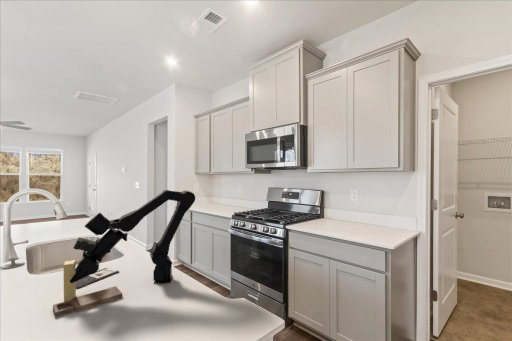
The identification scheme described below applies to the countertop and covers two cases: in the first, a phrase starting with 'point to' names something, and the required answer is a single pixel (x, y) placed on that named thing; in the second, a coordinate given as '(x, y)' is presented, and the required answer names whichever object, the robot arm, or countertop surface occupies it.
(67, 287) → the stub
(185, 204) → the robot arm
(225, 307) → the countertop surface
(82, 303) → the brown buckle strap
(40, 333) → the countertop surface
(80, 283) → the chocolate bar
